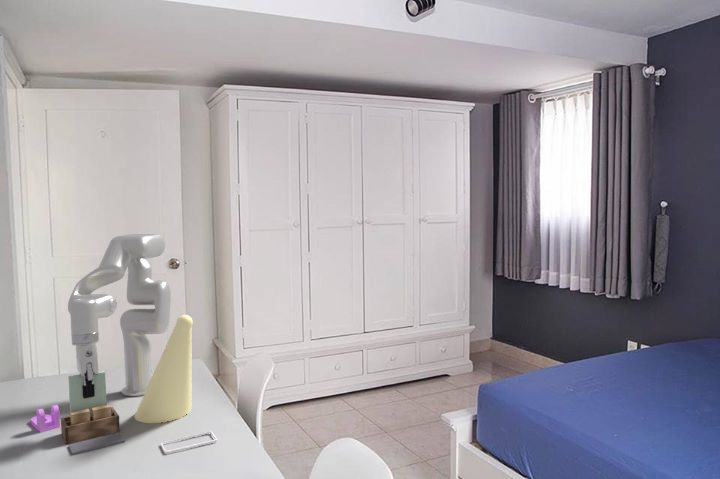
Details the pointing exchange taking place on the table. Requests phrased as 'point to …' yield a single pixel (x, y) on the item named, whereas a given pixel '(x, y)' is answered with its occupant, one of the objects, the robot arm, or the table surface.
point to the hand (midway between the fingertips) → (87, 395)
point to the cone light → (170, 379)
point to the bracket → (46, 419)
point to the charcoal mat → (96, 443)
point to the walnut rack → (89, 428)
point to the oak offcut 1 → (80, 416)
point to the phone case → (187, 446)
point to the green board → (77, 393)
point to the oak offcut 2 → (101, 412)
